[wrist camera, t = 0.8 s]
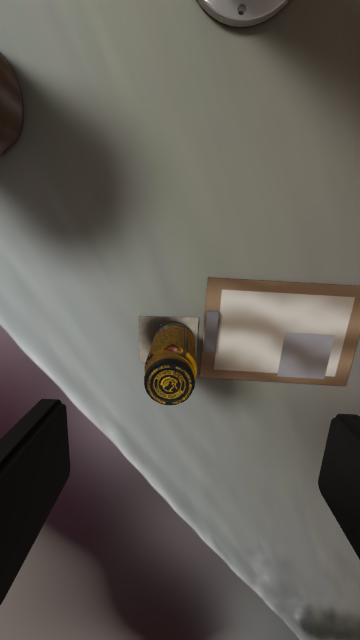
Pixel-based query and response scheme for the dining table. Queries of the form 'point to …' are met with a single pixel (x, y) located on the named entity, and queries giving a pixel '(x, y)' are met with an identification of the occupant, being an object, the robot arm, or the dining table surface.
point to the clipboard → (280, 331)
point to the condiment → (169, 357)
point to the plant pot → (9, 106)
